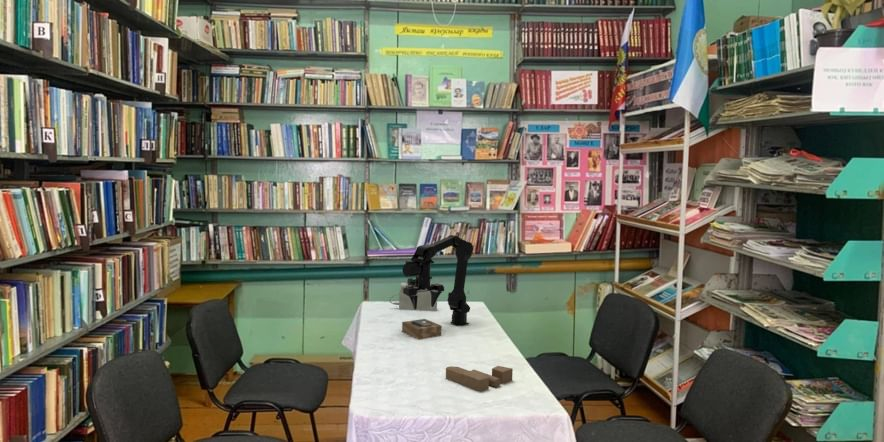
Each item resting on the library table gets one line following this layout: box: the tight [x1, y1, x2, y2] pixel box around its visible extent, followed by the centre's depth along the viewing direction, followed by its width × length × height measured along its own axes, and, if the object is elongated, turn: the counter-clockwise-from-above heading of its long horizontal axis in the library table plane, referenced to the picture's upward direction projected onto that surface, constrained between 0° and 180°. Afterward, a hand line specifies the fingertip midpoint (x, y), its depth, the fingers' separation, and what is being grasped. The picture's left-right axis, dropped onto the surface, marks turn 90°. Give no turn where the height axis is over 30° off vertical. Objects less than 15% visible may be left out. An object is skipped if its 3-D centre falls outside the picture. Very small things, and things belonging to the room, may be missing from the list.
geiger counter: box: [389, 282, 438, 312], centre depth 316 cm, size 14×6×25 cm
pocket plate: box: [401, 318, 443, 340], centre depth 271 cm, size 12×14×4 cm
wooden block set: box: [445, 365, 513, 393], centre depth 214 cm, size 17×6×18 cm
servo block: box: [411, 319, 432, 327], centre depth 271 cm, size 4×10×6 cm, turn 33°
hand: (423, 308), depth 274 cm, fingers open, 9 cm apart
